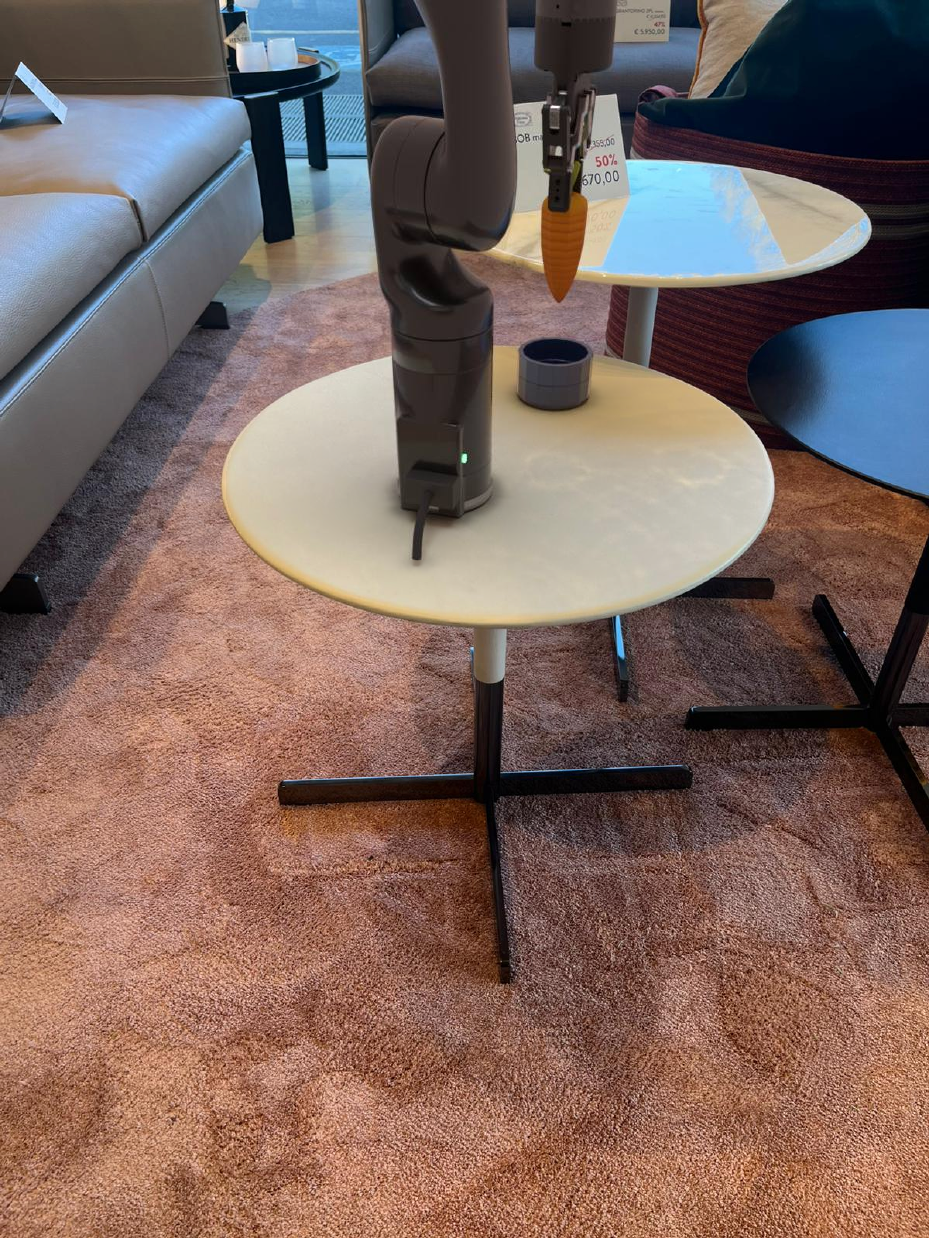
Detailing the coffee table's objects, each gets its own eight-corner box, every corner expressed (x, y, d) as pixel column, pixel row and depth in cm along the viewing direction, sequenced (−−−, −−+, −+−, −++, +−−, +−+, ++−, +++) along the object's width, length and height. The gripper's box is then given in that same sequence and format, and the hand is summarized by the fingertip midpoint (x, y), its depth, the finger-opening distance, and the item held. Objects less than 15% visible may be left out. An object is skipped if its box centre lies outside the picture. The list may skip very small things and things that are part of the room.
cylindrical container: (580, 415, 106) (584, 370, 102) (508, 405, 108) (509, 360, 105) (595, 385, 112) (599, 341, 109) (527, 376, 114) (529, 333, 111)
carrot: (565, 313, 100) (575, 162, 91) (527, 304, 103) (534, 156, 93) (589, 301, 103) (601, 154, 94) (552, 292, 106) (560, 148, 97)
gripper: (555, 2, 92) (546, 185, 103) (516, 17, 82) (511, 220, 92) (629, 4, 90) (612, 191, 101) (600, 20, 80) (585, 226, 90)
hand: (564, 204), depth 97 cm, fingers closed on carrot, 4 cm apart
